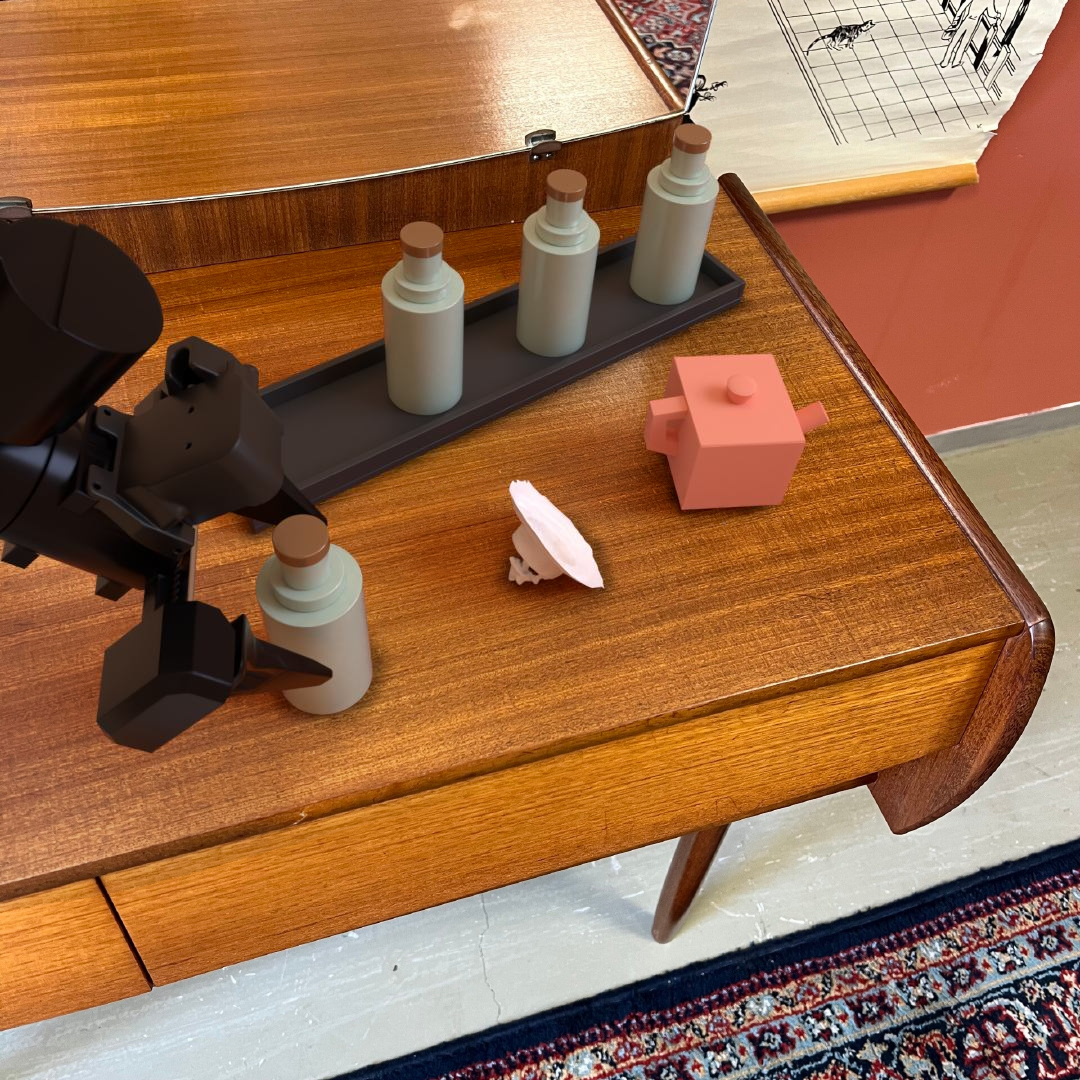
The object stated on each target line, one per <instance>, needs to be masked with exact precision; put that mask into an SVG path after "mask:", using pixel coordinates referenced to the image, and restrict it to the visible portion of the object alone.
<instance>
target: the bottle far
mask: <svg viewBox="0 0 1080 1080" xmlns="http://www.w3.org/2000/svg"><path fill="white" fill-rule="evenodd" d="M712 139H713V135H712V132H711V131H710V130H709V129H708V128H707V127H705V126H703V125H700V124H697V123H683V124H680V125H678V126H676V128H675V129H674V132H673V137H672V144H673V146H672V150H671V155H670V157H668V158H666V159H665V160H663V161H662V163H661V164H658V165H657V166H655V167H652V169H651V170H650V171H649V172H648V174H647V177H646V182H645V189H644V194H643V200H642V206H641V211H640V216H639V222H638V228H637V233H636V234H637V238H636V244H635V250H634V255H633V261H632V267H631V272H630V278H629V282H630V286H631V288H632V289H633V291H634V292H635V293H636V294H637V295H638V296H640V297H641V298H643V299H644V300H646V301H649V302H652V303H655V304H660V305H674V304H679V303H682V302H684V301H686V300H688V299H689V298H690V297H691V296H692V295H693V293H694V290H695V286H696V282H697V278H698V274H699V270H700V266H701V262H702V258H703V253H704V249H706V245H707V241H708V238H709V232H710V228H711V225H712V221H713V216H714V213H715V212H714V211H715V208H716V204H717V200H718V195H719V192H720V185H719V181H718V180H717V178H716V177H715V176H714V175H713V173H711V169H710V167H709V166H708V165H707V163H706V160H707V155H708V151H709V149H710V148H711V145H712Z"/></svg>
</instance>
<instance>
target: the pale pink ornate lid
mask: <svg viewBox="0 0 1080 1080" xmlns="http://www.w3.org/2000/svg"><path fill="white" fill-rule="evenodd" d="M508 488H509V489H508V490H509V491H508V492H509V494H510V496H511V503H512V508H513V511H514V513H515V514H516V516H517V518H518V519H519V520H520V522H521V523H520V525H519V526H518V527H517V528H516V530H515V531H514V532H513V533H512V535H511V538H512V540H511V541H512V544H513V545H514V547H515V550H516V552H517V553H518V554H519V556H520V557H521V558H522V559H523V560H521V559H520V558H518V557H515V556H510V557H509V561H510V568H509V569H510V570H509V572H508V581H511V582H513V581H515V582H516V584H517V585H518V586H519V585H522V584H523V583H524V582H532V583H533V584H534V585H537V584H538V583H539V582H540V580H542V579H543V580H545V581H546V580H547V581H548V580H554V579H555V578H558V577H559V576H561V575H562V574H565V575H566V576H568V577H570V578H571V579H573V580H574V581H576V582H578V583H581V584H582V585H585V586H586V587H589V588H592V589H594V588H603V589H605V587H604V579H603V577H602V575H601V573H600V570H599V567H598V564H597V562H596V560H595V559H594V557H593V556H594V554H593V548H591V545H590V544H589V543H588V542H587V541H586V540H585V538H584V537H583V535H582V534H581V533H580V532H579V530H578V529H577V528H576V526H575V525H574V523H573V522H572V520H571V519H570V518H569V517H568V516H566V515H565V514H564V513H563V512H562V511H561V510H560V509H558V507H556V506H555V505H554V503H552V502H551V500H549V498H547V497H546V496H545V495H542V494H541V493H540V492H539V491H538V490H537V489H536V488H535V487H534V486H533V484H532V483H531V482H530V481H529V480H527V481H526V479H525V480H519V479H516V481H514V480H512V481H511V483H510V485H509V487H508ZM521 561H522V562H521ZM530 568H531V569H532V570H534V571H535V573H537V575H536V574H533V571H531V570H530Z"/></svg>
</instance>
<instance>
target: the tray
mask: <svg viewBox="0 0 1080 1080" xmlns="http://www.w3.org/2000/svg"><path fill="white" fill-rule="evenodd" d="M636 238H637V233H634V234H631V235H629V236H627V237H625V238H622V239H620V240H617V241H615V242H613V243H610V244H607V245H606V246H603V247H601V248H598V254H597V261H596V268H595V275H594V282H593V289H592V296H591V303H590V310H589V317H588V324H587V331H586V337H585V341H584V343H583V345H582V346H581V347H580V348H579V349H578V350H577V351H575V352H574V353H572V354H569V355H566V356H561V357H546V356H541V355H538V354H535V353H533V352H531V351H529V350H527V349H526V348H525V347H523V345H522V344H521V343H520V342H519V340H518V338H517V336H516V321H517V307H518V293H519V281H518V282H516V283H513V284H511V285H508V286H506V287H504V288H501V289H499V290H496V291H494V292H491V293H489V294H487V295H485V296H481V297H480V298H477V299H474V300H472V301H469V302H468V303H464V341H463V391H462V395H461V398H460V399H459V401H458V402H457V403H456V404H455V405H454V406H453V407H452V408H451V409H449V410H447V411H445V412H443V413H439V414H435V415H415V414H411V413H408V412H406V411H404V410H402V409H400V408H399V407H397V406H396V405H395V404H394V403H393V402H392V400H391V399H390V397H389V394H388V388H387V372H386V357H385V341H384V337H382V338H380V339H377V340H375V341H373V342H370V343H368V344H365V345H363V346H361V347H358V348H356V349H354V350H351V351H349V352H346V353H343V354H341V355H339V356H337V357H334V358H332V359H329V360H327V361H325V362H322V363H320V364H317V365H315V366H313V367H310V368H307V369H305V370H303V371H300V372H298V373H295V374H293V375H291V376H288V377H286V378H282V379H281V380H278V381H276V382H274V383H271V384H269V385H267V386H264V387H261V388H258V395H259V396H260V397H261V399H262V400H263V401H264V402H265V403H266V404H267V405H268V406H269V407H270V408H271V409H272V411H273V412H274V413H275V414H276V415H277V416H278V417H279V418H280V419H281V420H282V422H283V425H284V434H283V435H282V436H281V464H282V466H283V469H284V475H285V476H286V477H287V478H288V479H289V480H290V481H291V482H292V483H293V484H294V485H295V486H296V487H297V488H298V489H299V490H300V491H301V492H302V493H303V494H304V495H305V497H306V498H307V499H308V500H309V501H310V502H311V503H312V504H313V505H314V506H315V507H316V505H319V504H321V503H323V502H325V501H327V500H329V499H331V498H334V497H336V496H338V495H340V494H342V493H345V492H347V491H348V490H350V489H353V488H355V487H357V486H359V485H361V484H363V483H366V482H367V481H369V480H371V479H373V478H376V477H378V476H380V475H382V474H384V473H386V472H388V471H391V470H393V469H395V468H397V467H399V466H401V465H403V464H406V463H407V462H409V461H412V460H413V459H416V458H418V457H419V456H422V455H424V454H427V453H429V452H430V451H433V450H434V449H436V448H438V447H441V446H443V445H445V444H448V443H449V442H452V441H454V440H455V439H458V438H460V437H462V436H464V435H466V434H468V433H470V432H473V431H474V430H476V429H479V428H480V427H483V426H485V425H487V424H489V423H491V422H493V421H496V420H497V419H500V418H502V417H504V416H506V415H508V414H510V413H512V412H514V411H516V410H518V409H520V408H523V407H525V406H527V405H529V404H531V403H534V402H535V401H537V400H539V399H542V398H544V397H546V396H548V395H550V394H552V393H554V392H556V391H558V390H561V389H563V388H564V387H567V386H569V385H571V384H574V383H575V382H578V381H579V380H582V379H583V378H586V377H587V376H590V375H592V374H594V373H596V372H598V371H600V370H602V369H605V368H607V367H609V366H611V365H614V364H615V363H618V362H619V361H621V360H624V359H626V358H628V357H630V356H632V355H634V354H636V353H638V352H640V351H642V350H644V349H647V348H648V347H651V346H653V345H655V344H657V343H659V342H661V341H663V340H666V339H668V338H670V337H672V336H674V335H676V334H679V333H681V332H683V331H684V330H687V329H689V328H691V327H693V326H695V325H697V324H699V323H701V322H704V321H705V320H708V319H710V318H712V317H714V316H716V315H719V314H720V313H723V312H724V311H726V310H729V309H730V308H733V307H735V306H737V305H739V304H741V301H742V298H743V295H744V291H745V288H746V284H747V281H746V280H745V279H744V278H742V277H741V276H740V275H739V274H738V273H736V272H735V271H734V270H732V269H731V268H730V267H729V266H727V265H726V264H725V263H724V262H722V261H721V260H720V259H719V258H717V257H716V256H714V255H713V254H712V253H711V252H710V251H709V250H708V249H706V248H705V249H704V253H703V258H702V262H701V266H700V270H699V274H698V278H697V282H696V286H695V290H694V293H693V295H692V296H691V297H690V298H689V299H688V300H686V301H684V302H682V303H679V304H674V305H660V304H655V303H652V302H649V301H646V300H644V299H643V298H641V297H640V296H638V295H637V294H636V293H635V292H634V291H633V289H632V288H631V286H630V282H629V278H630V272H631V267H632V261H633V255H634V250H635V244H636ZM242 517H243V519H244V520H245V522H246V523H247V524H248V526H249V527H250V528H251V530H252V532H253V533H254V534H258V533H260V532H263V531H265V530H266V529H269V528H271V527H273V526H274V525H271V524H267V523H264V522H261V521H257V520H254V519H250V518H247V517H244V516H242Z"/></svg>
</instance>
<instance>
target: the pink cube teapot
mask: <svg viewBox="0 0 1080 1080" xmlns="http://www.w3.org/2000/svg"><path fill="white" fill-rule="evenodd" d="M665 385H666V386H665V390H664V394H663V398H660V399H653V400H649V403H648V407H647V413H646V419H645V424H644V429H643V438H644V442H645V446H646V450H648V451H652V452H656V453H659V454H663V455H666V457H667V462H668V466H669V469H670V473H671V476H672V480H673V484H674V487H675V491H676V494H677V498H678V502H679V505H680V509H681V510H682V511H684V510H704V509H720V508H722V509H723V508H737V507H738V508H739V507H755V506H756V507H758V506H759V507H760V506H774V505H775V506H777V505H782V503H783V500H784V497H785V495H786V493H787V490H788V488H789V486H790V483H791V481H792V478H793V476H794V473H795V471H796V469H797V467H798V464H799V461H800V459H801V456H802V454H803V451H804V449H805V446H806V444H807V441H806V438H805V434H807V433H808V432H811V431H812V430H815V429H817V428H819V427H821V426H824V425H825V424H827V423H829V422H830V418H829V416H828V414H827V412H826V410H825V407H824V406H823V404H822V403H821V401H820V400H817V401H815V402H813V403H811V404H808V405H806V406H804V407H802V408H800V409H797V410H796V411H795V409H794V406H793V403H792V401H791V398H790V395H789V392H788V390H787V388H786V385H785V383H784V379H783V377H782V374H781V371H780V370H779V367H778V364H777V363H776V360H775V357H774V354H773V353H759V354H757V353H756V354H751V353H750V354H723V355H722V354H719V355H718V354H717V355H693V356H673V357H672V360H671V364H670V369H669V372H668V377H667V382H666V384H665Z"/></svg>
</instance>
